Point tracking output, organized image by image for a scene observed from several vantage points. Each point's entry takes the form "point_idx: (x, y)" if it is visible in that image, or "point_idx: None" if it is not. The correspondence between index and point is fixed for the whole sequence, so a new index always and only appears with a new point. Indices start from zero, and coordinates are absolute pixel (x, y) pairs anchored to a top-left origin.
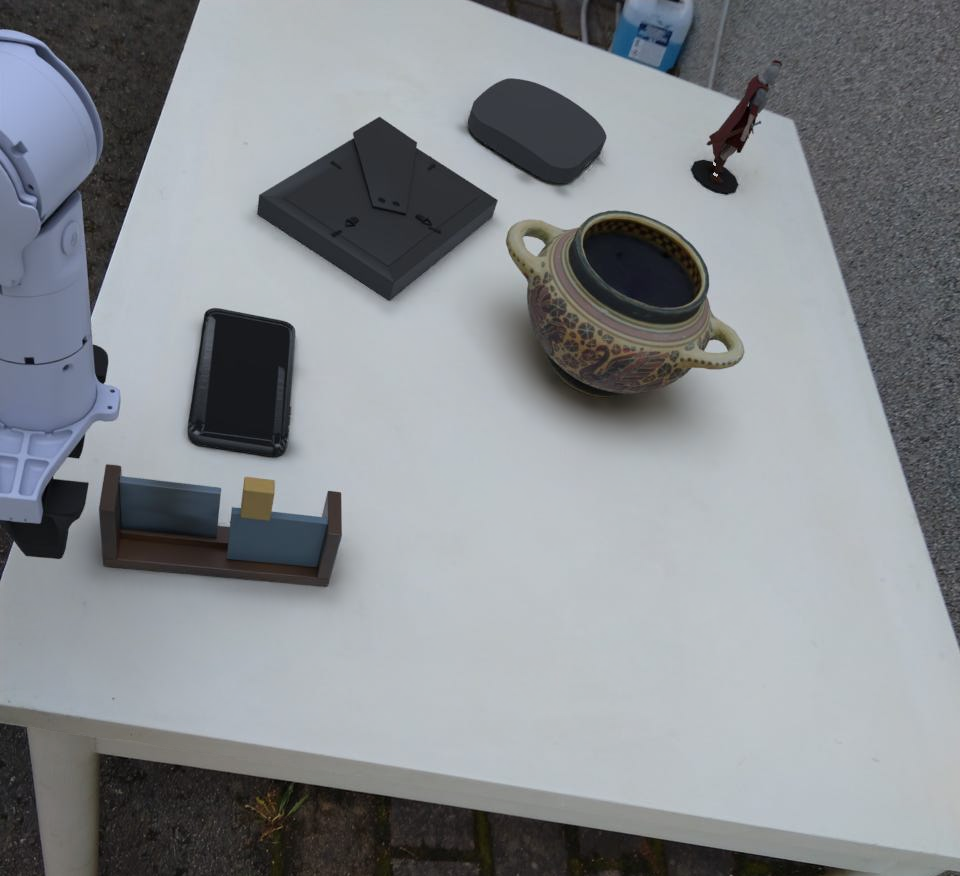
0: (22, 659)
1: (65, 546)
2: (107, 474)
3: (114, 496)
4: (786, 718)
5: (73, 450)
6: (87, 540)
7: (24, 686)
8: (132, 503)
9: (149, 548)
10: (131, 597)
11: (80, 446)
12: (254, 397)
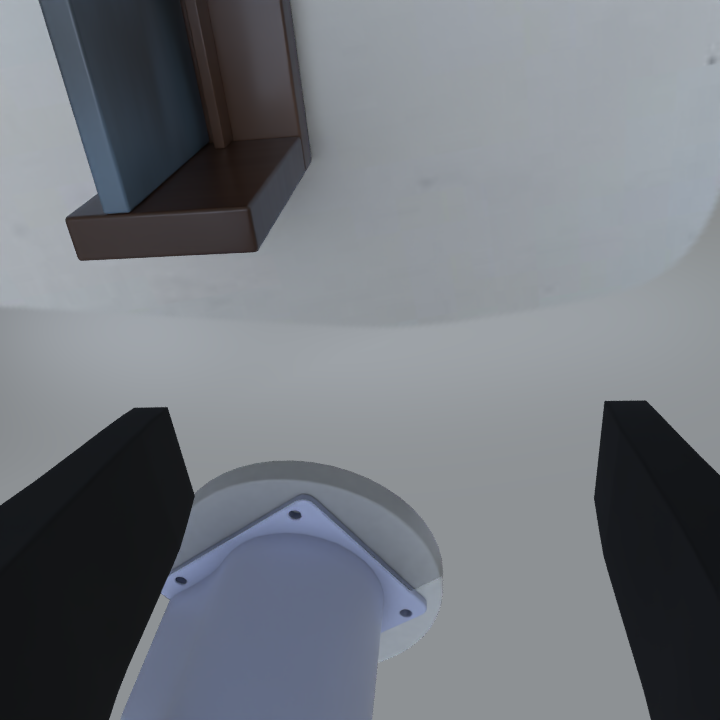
0: (589, 279)
1: (687, 443)
2: (115, 250)
3: (189, 217)
4: None
5: (157, 448)
6: None
7: (660, 263)
8: (157, 145)
9: (239, 57)
10: (389, 74)
11: (138, 444)
12: None
